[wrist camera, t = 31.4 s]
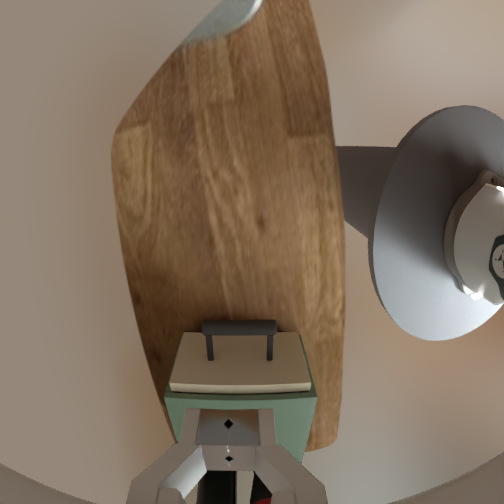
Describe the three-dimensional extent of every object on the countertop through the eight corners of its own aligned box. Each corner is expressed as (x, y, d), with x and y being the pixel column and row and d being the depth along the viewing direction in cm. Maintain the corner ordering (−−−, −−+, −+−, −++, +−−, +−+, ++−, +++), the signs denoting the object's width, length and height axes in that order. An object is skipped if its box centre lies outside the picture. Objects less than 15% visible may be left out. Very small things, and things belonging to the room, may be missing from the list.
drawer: (179, 296, 32) (160, 343, 24) (300, 295, 33) (317, 343, 24) (195, 406, 38) (188, 454, 30) (289, 405, 39) (296, 454, 30)
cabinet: (181, 335, 35) (163, 397, 25) (300, 335, 35) (317, 396, 25) (194, 411, 40) (185, 467, 30) (291, 410, 40) (300, 467, 30)
